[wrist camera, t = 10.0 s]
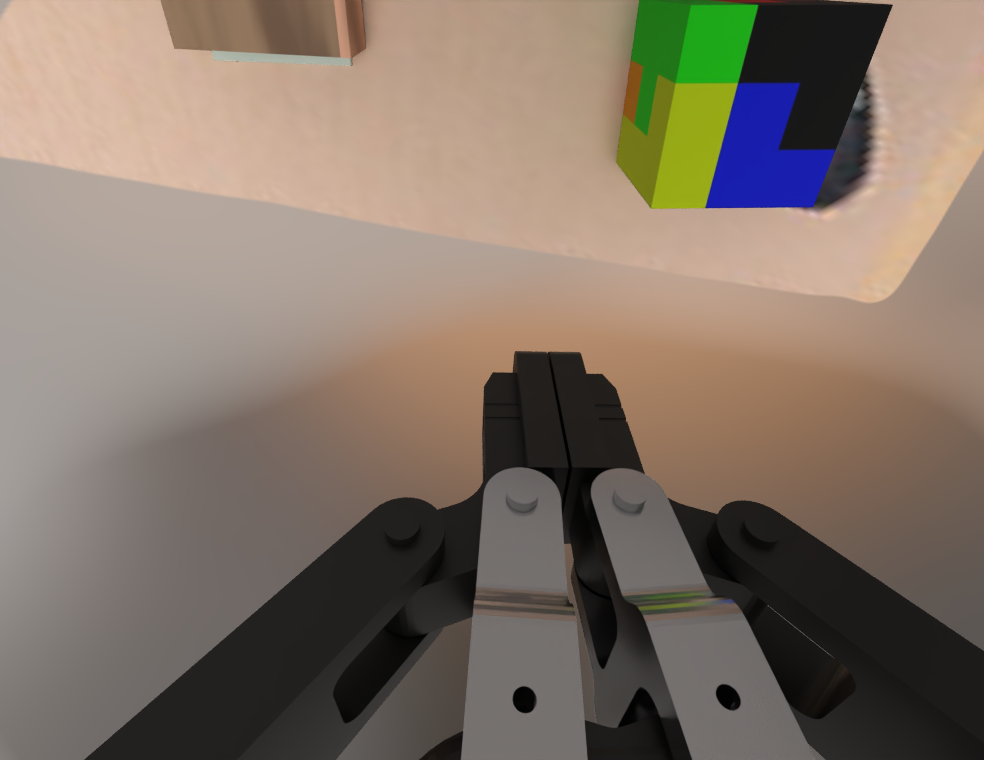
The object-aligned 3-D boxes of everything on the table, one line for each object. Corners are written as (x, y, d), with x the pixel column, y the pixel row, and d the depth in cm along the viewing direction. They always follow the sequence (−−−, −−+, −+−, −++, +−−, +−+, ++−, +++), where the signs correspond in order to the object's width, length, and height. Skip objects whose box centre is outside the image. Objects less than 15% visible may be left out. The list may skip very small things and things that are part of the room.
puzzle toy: (745, 161, 39) (812, 207, 31) (615, 161, 39) (651, 208, 31) (793, -2, 33) (892, 4, 25) (639, -2, 33) (691, 5, 25)
